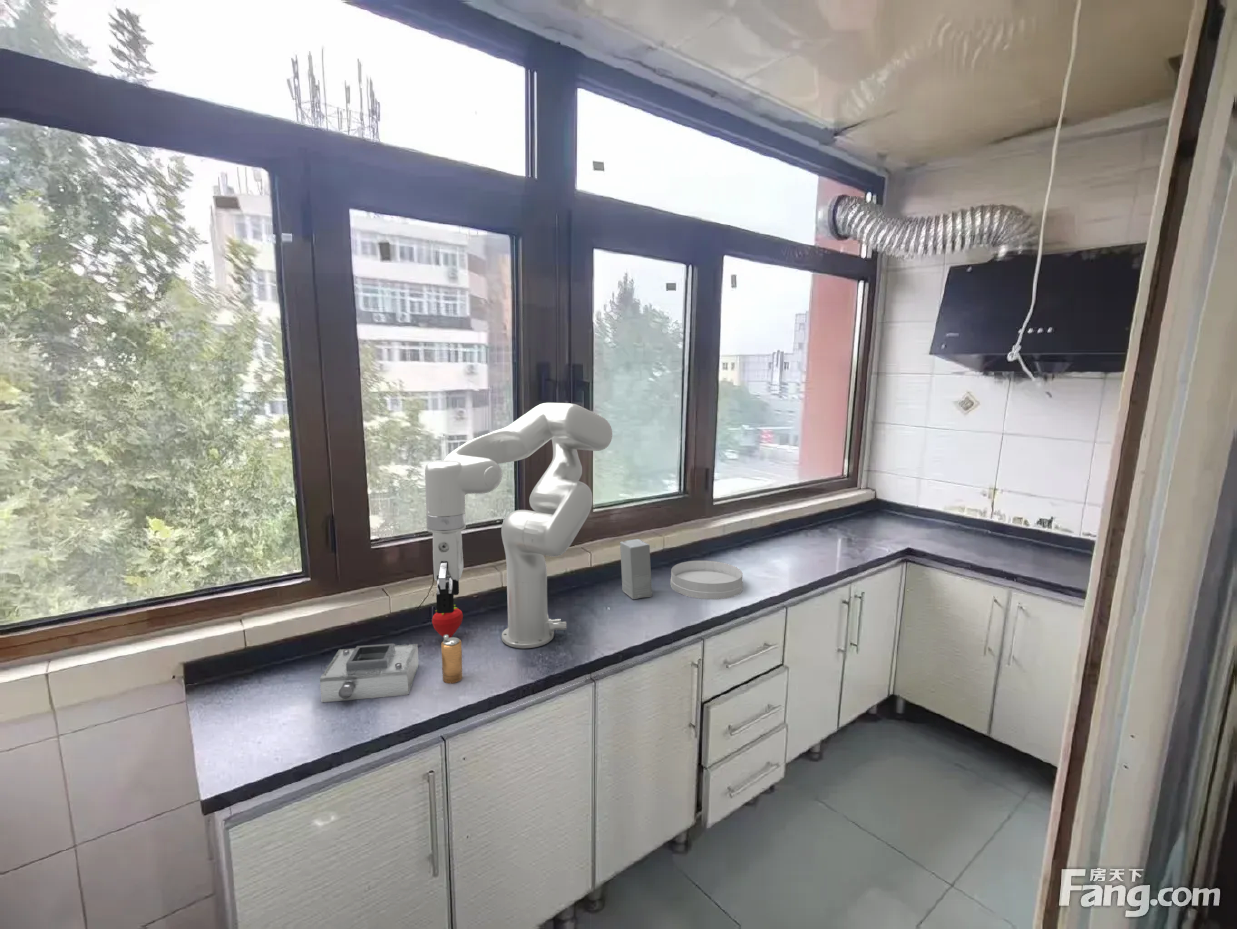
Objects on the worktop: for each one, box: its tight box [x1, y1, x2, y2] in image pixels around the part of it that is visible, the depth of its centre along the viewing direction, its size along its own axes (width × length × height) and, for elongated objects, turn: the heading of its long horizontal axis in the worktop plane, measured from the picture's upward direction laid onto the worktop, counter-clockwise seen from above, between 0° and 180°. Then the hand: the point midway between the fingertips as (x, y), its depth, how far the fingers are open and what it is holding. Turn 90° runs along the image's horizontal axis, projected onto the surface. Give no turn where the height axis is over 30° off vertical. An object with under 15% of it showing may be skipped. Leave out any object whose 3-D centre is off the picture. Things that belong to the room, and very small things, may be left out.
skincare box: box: [619, 538, 653, 600], centre depth 165 cm, size 8×7×16 cm
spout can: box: [440, 635, 464, 684], centre depth 117 cm, size 4×4×10 cm
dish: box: [669, 560, 744, 600], centre depth 173 cm, size 22×22×5 cm
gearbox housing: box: [319, 643, 420, 703], centre depth 114 cm, size 16×14×6 cm
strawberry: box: [431, 604, 464, 639], centre depth 135 cm, size 6×8×10 cm
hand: (448, 603), depth 115 cm, fingers open, 9 cm apart
